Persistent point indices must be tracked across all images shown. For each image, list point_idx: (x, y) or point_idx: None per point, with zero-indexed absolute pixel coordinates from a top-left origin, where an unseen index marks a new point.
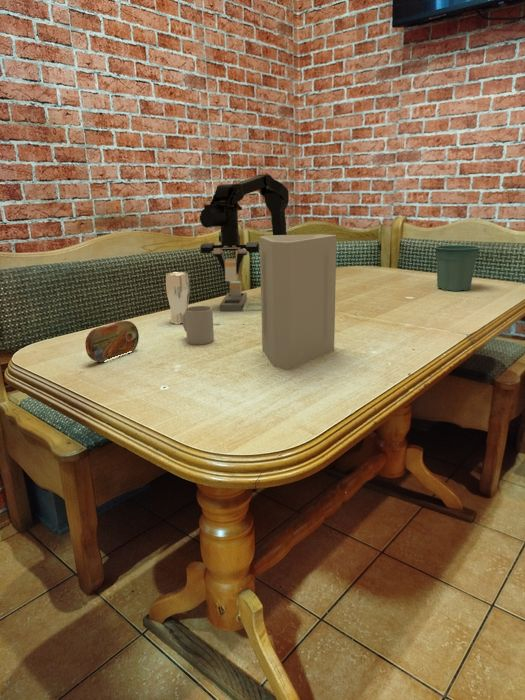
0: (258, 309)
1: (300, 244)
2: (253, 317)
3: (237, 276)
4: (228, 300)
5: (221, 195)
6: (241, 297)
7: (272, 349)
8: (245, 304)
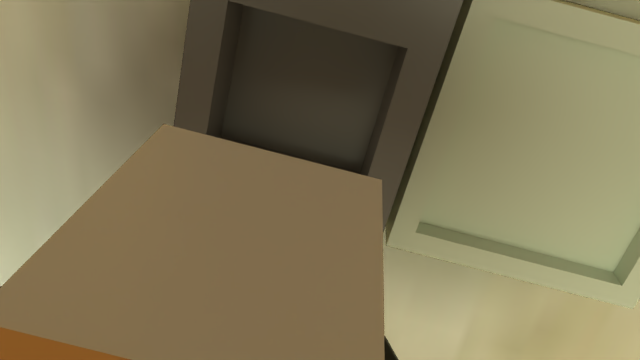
0: (524, 277)
1: None
2: (437, 352)
3: (378, 222)
4: (262, 9)
5: None
6: None
7: None
8: (453, 81)
